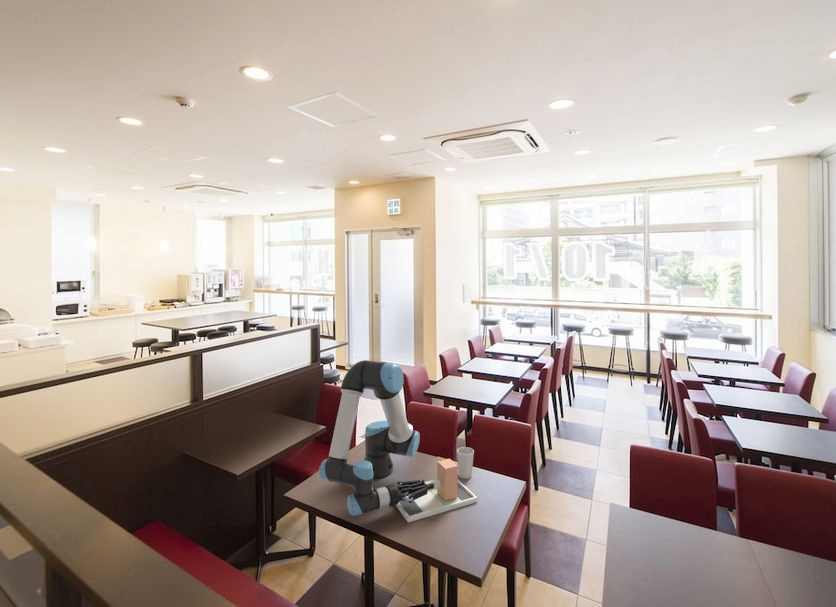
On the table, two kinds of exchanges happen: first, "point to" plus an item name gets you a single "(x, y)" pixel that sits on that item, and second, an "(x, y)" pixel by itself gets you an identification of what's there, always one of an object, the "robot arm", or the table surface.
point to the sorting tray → (435, 503)
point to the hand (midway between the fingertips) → (439, 482)
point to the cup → (465, 462)
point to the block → (447, 479)
